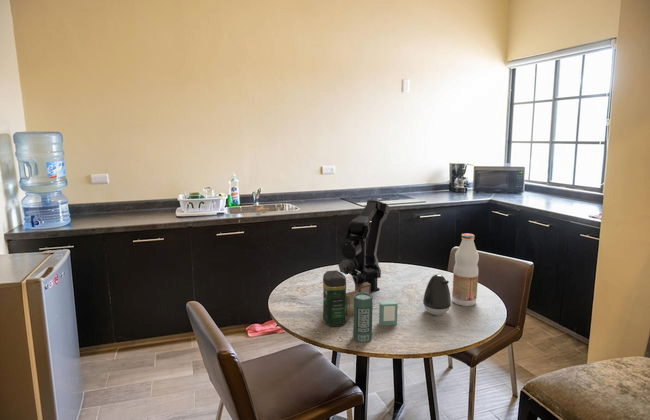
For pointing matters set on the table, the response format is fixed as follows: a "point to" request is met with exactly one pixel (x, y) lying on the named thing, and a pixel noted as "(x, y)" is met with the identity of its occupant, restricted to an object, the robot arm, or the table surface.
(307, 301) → the table surface
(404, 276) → the table surface
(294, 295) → the table surface
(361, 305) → the can
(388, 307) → the mint green block
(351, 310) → the tan wooden block
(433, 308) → the dark rounded piece
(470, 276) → the fruit juice
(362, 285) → the brown wooden block
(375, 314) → the table surface
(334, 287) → the coffee jar
